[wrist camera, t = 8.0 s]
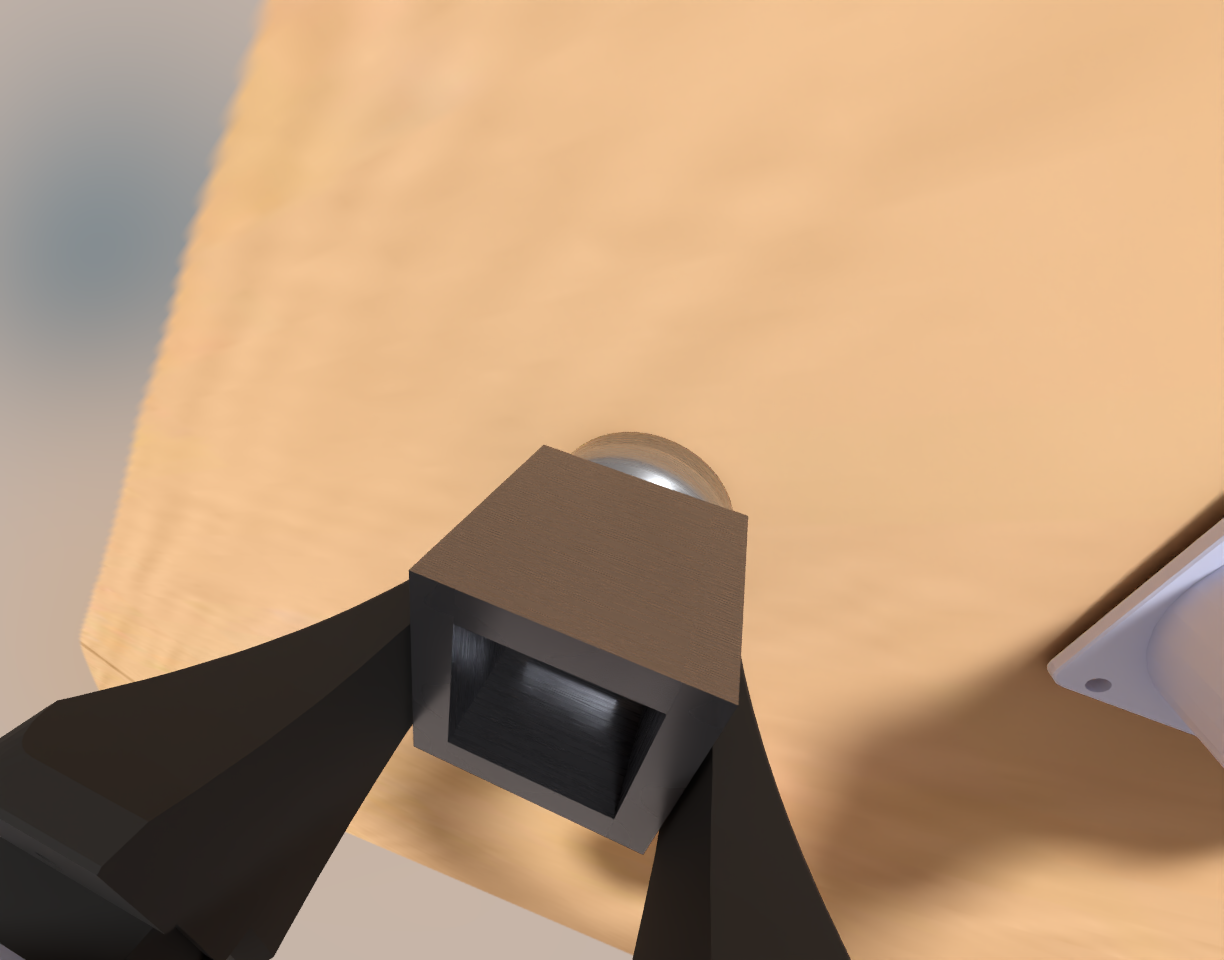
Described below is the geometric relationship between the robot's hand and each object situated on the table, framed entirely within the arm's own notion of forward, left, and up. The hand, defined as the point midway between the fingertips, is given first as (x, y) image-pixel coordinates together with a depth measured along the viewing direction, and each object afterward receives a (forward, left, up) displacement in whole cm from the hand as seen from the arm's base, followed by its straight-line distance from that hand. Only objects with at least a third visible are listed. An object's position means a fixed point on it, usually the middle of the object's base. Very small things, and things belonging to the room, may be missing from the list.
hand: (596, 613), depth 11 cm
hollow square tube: (0, 0, -2) cm, 2 cm away
